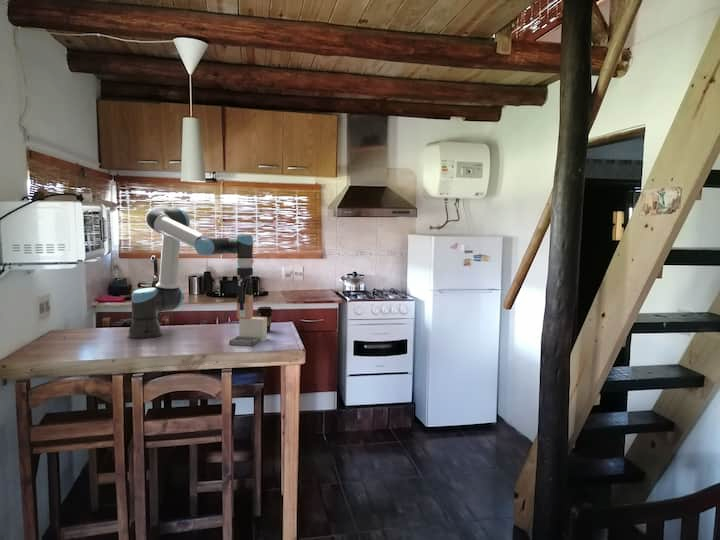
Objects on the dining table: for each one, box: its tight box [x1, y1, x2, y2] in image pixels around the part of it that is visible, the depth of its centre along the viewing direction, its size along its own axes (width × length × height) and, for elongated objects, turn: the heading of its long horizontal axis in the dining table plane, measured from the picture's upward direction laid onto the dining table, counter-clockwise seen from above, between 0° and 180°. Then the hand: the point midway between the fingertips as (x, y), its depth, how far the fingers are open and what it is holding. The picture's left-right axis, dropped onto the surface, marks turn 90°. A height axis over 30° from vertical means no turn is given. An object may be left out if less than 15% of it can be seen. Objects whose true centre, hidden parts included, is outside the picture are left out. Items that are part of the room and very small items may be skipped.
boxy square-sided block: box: [238, 315, 268, 343], centre depth 238 cm, size 12×6×11 cm, turn 81°
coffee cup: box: [256, 306, 274, 333], centre depth 256 cm, size 9×8×13 cm
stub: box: [236, 294, 254, 320], centre depth 229 cm, size 6×5×11 cm
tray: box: [229, 335, 260, 347], centre depth 230 cm, size 11×9×2 cm
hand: (244, 315), depth 229 cm, fingers closed on stub, 5 cm apart
